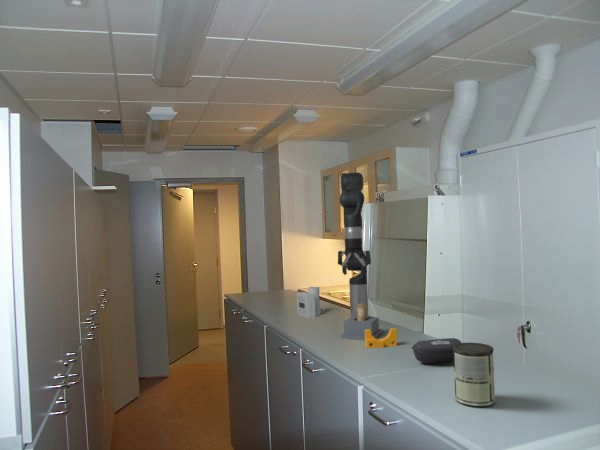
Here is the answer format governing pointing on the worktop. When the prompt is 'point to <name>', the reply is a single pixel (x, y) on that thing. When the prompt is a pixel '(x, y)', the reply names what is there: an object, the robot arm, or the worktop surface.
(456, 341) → the glasses case
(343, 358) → the worktop surface
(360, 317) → the oak peg
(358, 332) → the socket block
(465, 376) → the coffee can
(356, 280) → the robot arm
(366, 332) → the pipe clamp
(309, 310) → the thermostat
